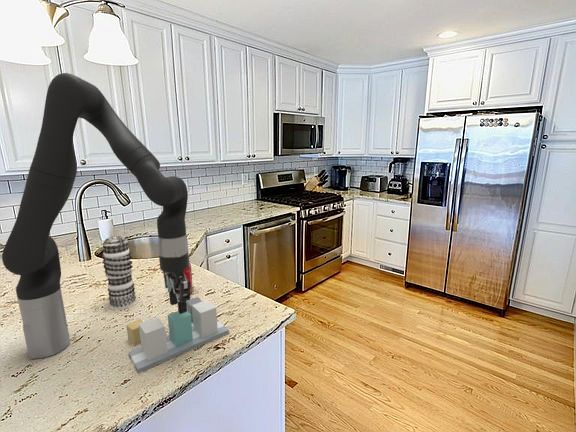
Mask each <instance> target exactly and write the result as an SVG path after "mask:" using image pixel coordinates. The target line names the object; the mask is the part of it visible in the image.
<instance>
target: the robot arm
mask: <svg viewBox="0 0 576 432" xmlns="http://www.w3.org/2000/svg"><path fill="white" fill-rule="evenodd" d="M43 109H44V110H43V114H42V115H43V116H42V123H41V128H40V132H39V136H38V140H37V144H36V148H35V152H34V155H33V158H32V162H31V164H30V167H29V170H28V174H27V178H26V180H25V181H26V182H25V185H24V189H23V193H22V197H21V200H20V204H19V209H18V213H17V217H16V219H15V221H14V225H13V226H12V229H11V231H10V234H9V236H8V239H7V240H6V241H5V242H6V243H5V245H4V247H3V250H2V253H1V261H2V264H3V266H4V267H5V269H6V270H7V271H8V272H10V273H11V274H14V275H18V276H19V280H18V283H17V285H16V287H15V293H16V298H17V302H18V306H19V312H20V316H21V320H22V331H23V335H24V339H25V340H24V341H25V344H26V349H27V353H28V359H29V360H30V361H31V360H35V359H42V358H49V357H51V356H54V355H57V354H58V353H60V352H62V351H64V350H65V349H66V348H67V347H69V346H70V344H71V338H70V337H71V336H70V333H69V328H68V321H67V317H66V309H65V304H64V300H63V294H62V293H63V292H62V287H61V278H62V268H61V259H60V252H59V249H58V245H57V243H56V241H55V240H54V238H52V236H50V233H51V230H52V227H53V225H54V223H55V221H56V219H57V218H58V216H59V215H60V213H61V211H62V210H63V208H64V207H65V204H66V203H67V201H68V199H69V197H70V195H71V193H72V191H73V187H74V183H75V180H76V178H77V172H78V162H77V158H76V157H77V156H76V152H75V147H74V133H75V131H76V130H75V129H76V126H77V123H78V120H79V119H83V120H85V121H86V122H88V123H89V124H91V125H92V126H93V127H94V128H95V129H96V130H98V132H100V133H101V135H103V137H104V138H105V140H106V141H107V143H108V145H109V147H110V148H111V149H110V150H111V151H112V152H113V154H114V155H115V156H116V158H117V159H118V160H119V161H120V163H121V164H122V165H124V167H125V168H126V170H128V171H129V172H130V173H131V174H132V175H133V176H134V177H135V178H136V180H137V182H138V184H139V185H140V187H141V189H142V191H143V193H144V194H145V195H146V197H147V198H148V199H149V201H151V202H152V203H154V204H155V205H157V206H160V207H162V211H161V213H160V214H159V215H158V216H157V219H156V229H157V249H158V258H159V269H160V270H161V271H162V275H163V279H164V287H165V289H167V293H168V294H169V303H170V305H171V306H174V305H177V311H178V312H179V313H180V314H182V313H185V312H187V300H190V299H191V293H190V281H189V280H187V281H186V276H185V274H184V270H185V269H187V268H188V267H189V261H190V256H189V255H190V252H189V242H188V238H187V229H186V228H187V227H186V214H187V207H188V200H189V199H188V198H189V196H188V195H189V194H188V193H189V192H188V188H187V185H186V183H185V181H184V180H183V179H182V178H181V177H179V176H175V175H174V176H173V175H171V176H164V175H163V174H162V172H161V171H160V169H161V168H160V167H161V163H160V161H159V160H158V159H157V157H156V156H155V155H154V154H153V153H152V152H151V151H150V150H149V149H148V148H147V146H145V145H144V144H143V143H142V142H141V140H140V139H138V138H137V136H135V134H134V133H133V132H132V131H131V130H130V129H129V127H127V125H125V123H124V122H123V121H122V119H121V118H120V116H119V115H118V113H116V111H115V110H114V108H113V106H112V105H111V104H110V103H109V101H108V99H107V98H106V97H105V95H104V94H103V92H101V90H100V89H99V88H98V87H97V86H96V85H95V84H93V83H91V82H89V81H86V80H85V79H83V78H81V77H79V76H77V75H75V74H72V73H68V72H62V73H59V74H56V75H55V76H54V77H53V78H52V80H51V81H50V83H49V84H48V88H47V92H46V96H45V101H44V108H43ZM178 288H179V290H178ZM183 295H184V296H183Z"/></svg>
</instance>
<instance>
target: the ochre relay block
mask: <svg viewBox="0 0 576 432" xmlns="http://www.w3.org/2000/svg"><path fill="white" fill-rule="evenodd" d="M142 322H144V321H143V320H142V319H141V318H140V319H137V320H134V321H132V322H131V323H128V324H126V326H125V327H126V332H127V334H126V335H127V340H128V341H129V342H130V343H131V344H132V345H134V346H136V345H138V344H141V340H140V332H139V323H142Z"/></svg>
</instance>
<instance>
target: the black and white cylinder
mask: <svg viewBox="0 0 576 432" xmlns="http://www.w3.org/2000/svg"><path fill="white" fill-rule="evenodd" d="M101 245H102V248H103V252H102V253H103V254H102V255H101V258H102V259H101V260H102V264H103V266H102V267H103V268H104V274H105V278H107V282H108V283H107V287H108V288H107V289H106V290H107V292H108V293H107V295H108V302H109V305H110V306H109V308H110V309H112V310H116V311H117V310H118V311H119V310H126V309H128V308H131V307H132V306H134V305H135V304H136V303H137V298H136V297H137V296H136V291H135V289H136V288H135V283H134V280H133V279H134V278H133V276H132V274H133V269H132V268H133V261H132V260H131V259H132V258H133V256H132V251H130V248H129V240H128V239H126V238H125V237H124V236H120V235H117V236H110V237H107V238H105V240H104V241H103V242H101Z"/></svg>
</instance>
